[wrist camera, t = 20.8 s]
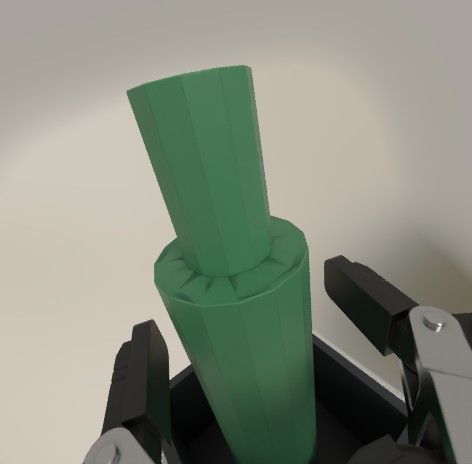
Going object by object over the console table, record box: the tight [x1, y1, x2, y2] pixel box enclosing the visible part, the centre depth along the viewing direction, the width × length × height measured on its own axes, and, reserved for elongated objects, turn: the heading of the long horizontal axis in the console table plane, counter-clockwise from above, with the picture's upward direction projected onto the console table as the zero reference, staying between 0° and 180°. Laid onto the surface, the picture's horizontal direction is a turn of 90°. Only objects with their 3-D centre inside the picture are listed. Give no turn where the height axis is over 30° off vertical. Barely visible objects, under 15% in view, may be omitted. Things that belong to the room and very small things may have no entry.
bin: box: [163, 334, 409, 464], centre depth 15 cm, size 11×11×8 cm
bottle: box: [127, 65, 318, 464], centre depth 11 cm, size 5×5×23 cm
